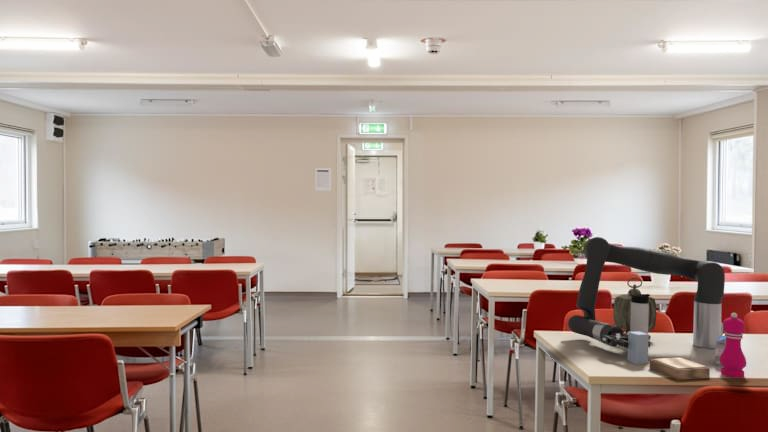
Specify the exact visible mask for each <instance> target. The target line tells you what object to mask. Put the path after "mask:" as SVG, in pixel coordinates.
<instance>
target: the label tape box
mask: <svg viewBox="0 0 768 432" xmlns="http://www.w3.org/2000/svg"><path fill="white" fill-rule="evenodd" d="M725 346H726V337H725V336H722V337H720V338H719V339H718V340H717V341H716V349H715V352H714V353H715V355H714V356H715V357H714V365H716V366H720V367H723V366H722V364H721V363H720V356H721V354H722V352H723V350H724V348H725Z"/></svg>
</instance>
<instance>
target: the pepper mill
mask: <svg viewBox="0 0 768 432" xmlns="http://www.w3.org/2000/svg"><path fill="white" fill-rule="evenodd" d="M722 323H723V330H724V331H723V335H724V336H725V337H726V346H725V348H724V350H723V352H722V354H721V356H720V363H721V364H722V366H721V369H720V373H721V374H720V375H722V376H724V375H725V377H729V378H733V377H735V379H743V378H744V377H745V371H744V370H743V369H744V368H745V367H746V366H747V358H746V356H745V354H744V352H743V350H742V345H741V344H742V340H743V339H744V338H743V335H744V334H743V332H744V331H745V330H746V324H745V322H744V321H743V320H742V319H741V318H738V314H737V313H736V312H732V313H731V314H730V317H727V318H725V319H724V320H723V321H722ZM742 377H743V378H742Z"/></svg>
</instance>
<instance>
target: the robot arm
mask: <svg viewBox="0 0 768 432" xmlns="http://www.w3.org/2000/svg"><path fill="white" fill-rule="evenodd" d="M582 249H583V253H584V255H585V257H586V265H585V270H584V274H583V278H582V280H581V283H580V286H579V290H578V294H577V298H576V299H577V300H576V305H575V306H576V308H577V309H578V310H581V311H582V312H583V313H582V314H583V315H579V314H573V315H572V316H570V317H569V318H568V320H567V327H568V329H569V330H570V331H571V332H572V333H575V334H579V335H582V336H586V337H589V338H591V339H594V341H595V340H596V341H598V342H600V343H602V344H605V345H607V346H610V347H611V348H612V347H613V348H619V347H622V348H625V349H628V347H629V343H628V333H626V332H625V331H624V329H621V328H620V327H617V326H616V325H615V324H610V323H607V322H602V321H598V320H597V319H596V303H597V299H598V294H599V293H598V292H599V287H600V280H601V277H602V276H601V275H602V273H603V269H604V266H605V263H613V264H617V265H621V266H624V267H628V268H631V269H635V270H639V271H642V272H647V273H651V274H657V275H669V276H678V277H683V278H686V279H689V280H692V281H696V282H697V288H696V292H695V294H694V297H693V331H692V333H693V334H692V345H693V346H695V347H697V348H704V349H711V350H713V349H715V350H716V341H717V340H718V339H719V338H720V337H722V336H723V335H724V328H723V321H722V301H723V298H724V294H725V281H726V275H725V274H726V273H725V270H724V268H723V266H722V265H720V264H719V263H717V262H714V261H710V260H702V259H700V260H699V259H690V258H684V257H680V256H677V255H674V254H671V253H668V252H665V251H662V250H657V249H652V248H646V247H638V246H622V245H621V246H620V245H616V244H613V243H609V242H608V241H607V240H606V239H605V238H603V237H601V236H596V237H592V238H590V239H588V240H587V241H586V242H585V243H584V245H583V248H582ZM650 346H651V342H650V340H648V348H651V347H650Z"/></svg>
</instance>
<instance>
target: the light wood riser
mask: <svg viewBox="0 0 768 432" xmlns="http://www.w3.org/2000/svg"><path fill="white" fill-rule="evenodd" d="M649 370H652V371H654V372H657V373H660V374H662V375H664V376H666V375H667V377H669V376H670V377H669V378H672V379H674V380H677V381H681V380H697V379H710V373H711V370H710V367H708V366H706V365H703V364H700V363H697V362H695V361H692V360H689V359H686V358H684V357H683V358H682V357H679V356H678V357H666V358H665V357H662V358H652V359H649Z"/></svg>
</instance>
